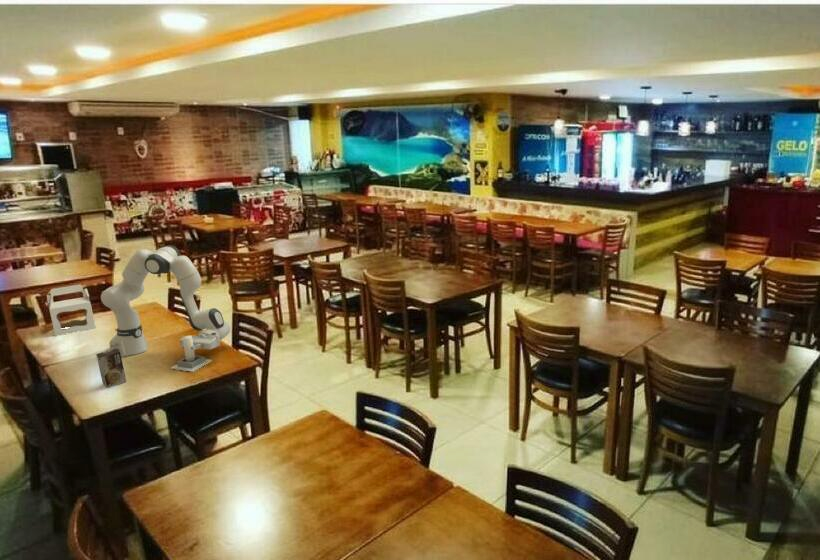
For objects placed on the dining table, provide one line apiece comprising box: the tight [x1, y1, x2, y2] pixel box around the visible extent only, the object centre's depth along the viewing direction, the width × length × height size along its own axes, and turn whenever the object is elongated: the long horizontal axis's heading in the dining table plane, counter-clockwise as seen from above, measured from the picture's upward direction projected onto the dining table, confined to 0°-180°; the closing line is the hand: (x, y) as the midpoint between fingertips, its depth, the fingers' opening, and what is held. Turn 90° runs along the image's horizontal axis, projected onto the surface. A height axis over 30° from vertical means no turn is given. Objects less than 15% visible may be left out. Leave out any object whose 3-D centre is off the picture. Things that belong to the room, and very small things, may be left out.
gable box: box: [46, 283, 96, 337], centre depth 345 cm, size 22×13×28 cm, turn 124°
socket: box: [170, 354, 213, 373], centre depth 286 cm, size 14×14×4 cm
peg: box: [181, 335, 196, 363], centre depth 284 cm, size 5×5×13 cm
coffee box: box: [96, 349, 127, 389], centre depth 267 cm, size 9×6×16 cm
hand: (187, 348), depth 283 cm, fingers closed on peg, 4 cm apart
